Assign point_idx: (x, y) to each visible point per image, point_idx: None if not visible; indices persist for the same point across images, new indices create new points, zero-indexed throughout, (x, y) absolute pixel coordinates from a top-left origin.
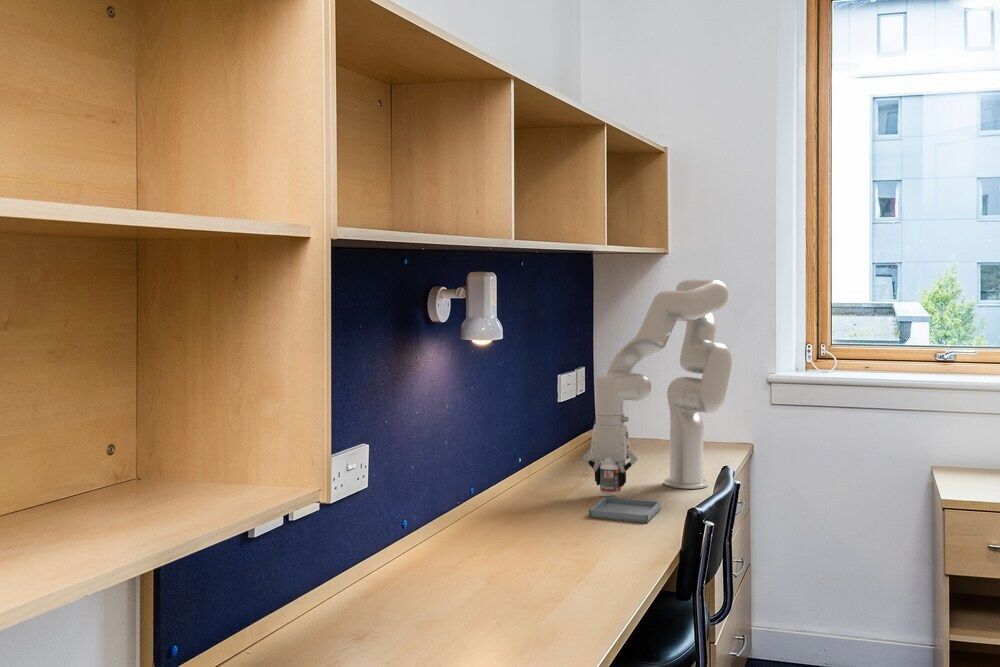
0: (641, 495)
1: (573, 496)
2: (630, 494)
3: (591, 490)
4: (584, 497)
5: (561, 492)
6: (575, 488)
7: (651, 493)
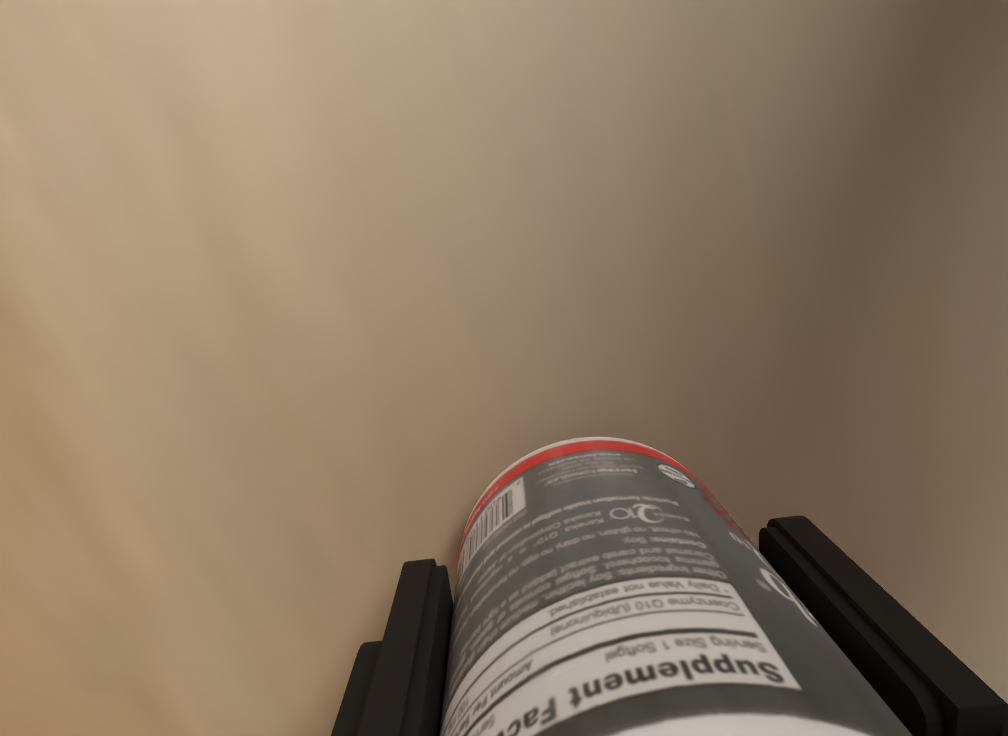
0: (887, 275)
1: (228, 674)
2: (750, 290)
3: (240, 323)
4: (346, 659)
5: (10, 583)
6: (7, 317)
7: (991, 96)
